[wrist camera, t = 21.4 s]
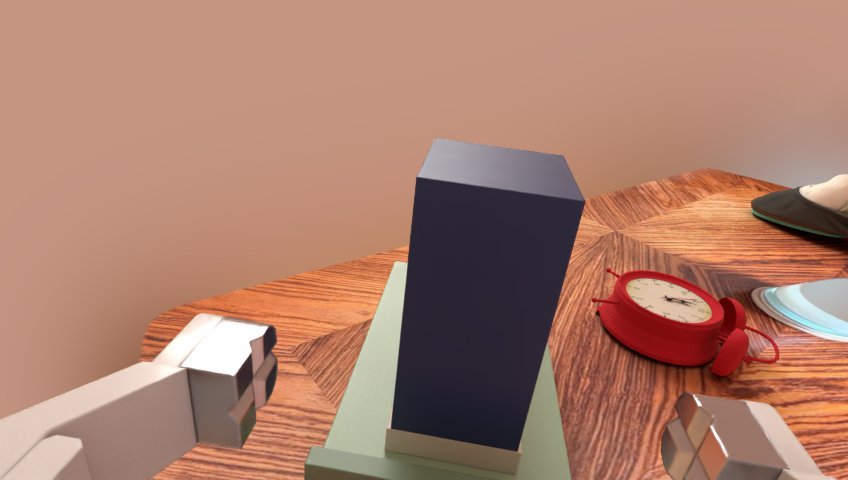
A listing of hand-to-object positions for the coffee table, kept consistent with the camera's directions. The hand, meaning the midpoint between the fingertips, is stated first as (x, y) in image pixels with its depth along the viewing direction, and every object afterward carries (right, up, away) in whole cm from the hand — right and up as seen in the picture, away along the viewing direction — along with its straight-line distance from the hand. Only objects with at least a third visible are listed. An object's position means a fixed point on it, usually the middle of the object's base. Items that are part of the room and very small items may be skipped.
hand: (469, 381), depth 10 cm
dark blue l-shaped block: (+1, -4, +21) cm, 21 cm away
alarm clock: (+22, -6, +35) cm, 43 cm away
